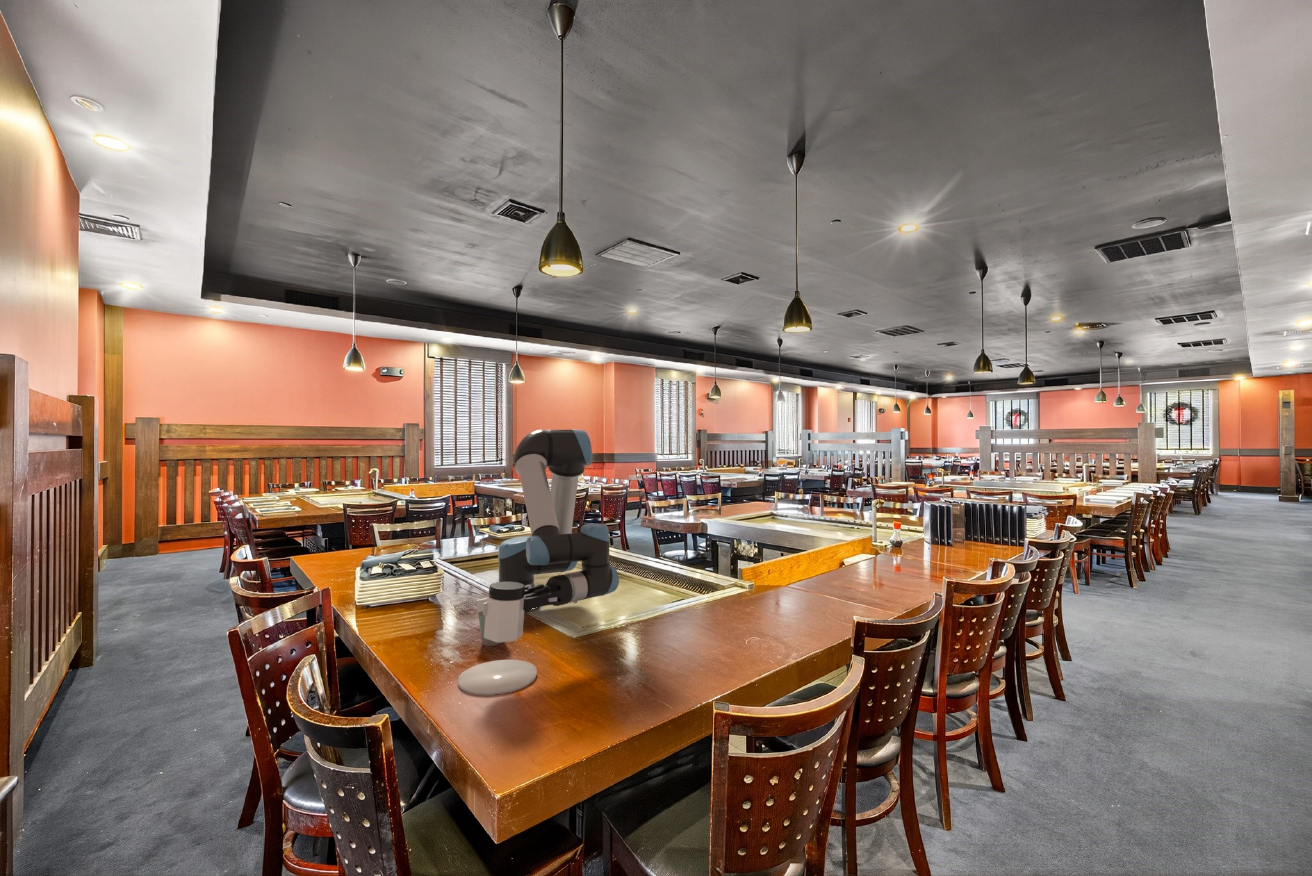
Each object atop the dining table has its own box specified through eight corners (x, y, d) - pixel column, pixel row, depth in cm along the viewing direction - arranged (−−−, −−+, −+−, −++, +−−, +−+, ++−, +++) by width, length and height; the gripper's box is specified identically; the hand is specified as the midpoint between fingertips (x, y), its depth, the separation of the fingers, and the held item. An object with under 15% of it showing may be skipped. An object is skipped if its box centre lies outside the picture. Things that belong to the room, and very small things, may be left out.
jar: (493, 629, 138) (497, 579, 138) (525, 632, 137) (529, 582, 138) (478, 641, 129) (483, 588, 129) (513, 644, 128) (518, 591, 129)
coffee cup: (493, 635, 166) (493, 594, 166) (514, 640, 162) (514, 597, 162) (470, 644, 159) (469, 601, 159) (492, 649, 154) (491, 605, 154)
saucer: (446, 677, 136) (446, 673, 136) (514, 658, 148) (514, 654, 148) (478, 703, 123) (478, 698, 123) (550, 679, 135) (550, 674, 135)
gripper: (583, 609, 142) (496, 632, 126) (549, 597, 154) (466, 616, 138) (583, 579, 142) (495, 598, 126) (549, 569, 154) (465, 585, 138)
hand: (480, 607), depth 132 cm, fingers closed on jar, 3 cm apart
